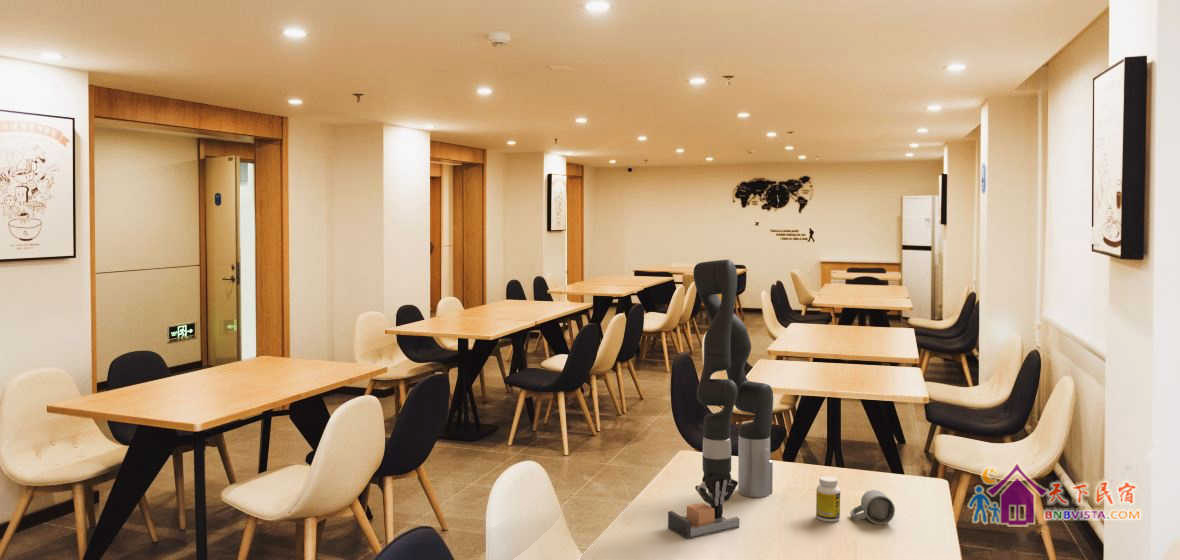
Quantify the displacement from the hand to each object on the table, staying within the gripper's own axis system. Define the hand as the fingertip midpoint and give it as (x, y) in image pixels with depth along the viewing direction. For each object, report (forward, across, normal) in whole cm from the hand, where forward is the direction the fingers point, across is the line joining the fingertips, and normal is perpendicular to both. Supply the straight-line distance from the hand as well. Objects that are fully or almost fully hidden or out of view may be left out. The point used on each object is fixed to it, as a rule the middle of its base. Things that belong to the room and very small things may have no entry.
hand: (716, 517), depth 210 cm
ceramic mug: (+2, -39, +17) cm, 43 cm away
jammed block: (+2, +5, 0) cm, 6 cm away
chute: (+2, +4, 0) cm, 4 cm away
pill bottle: (+2, -29, +11) cm, 31 cm away
